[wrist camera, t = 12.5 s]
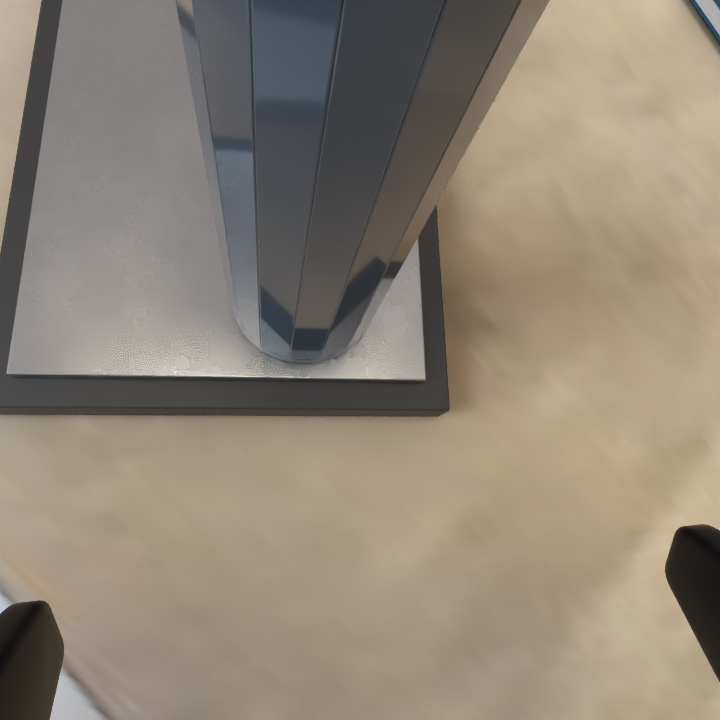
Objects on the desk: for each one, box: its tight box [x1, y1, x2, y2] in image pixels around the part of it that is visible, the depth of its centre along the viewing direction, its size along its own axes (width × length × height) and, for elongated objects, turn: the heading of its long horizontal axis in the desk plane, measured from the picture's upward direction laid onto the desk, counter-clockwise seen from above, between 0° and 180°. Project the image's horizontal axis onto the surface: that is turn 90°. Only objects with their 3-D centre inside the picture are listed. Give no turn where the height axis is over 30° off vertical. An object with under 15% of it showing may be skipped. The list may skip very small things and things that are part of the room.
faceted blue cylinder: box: [175, 0, 550, 363], centre depth 11 cm, size 5×5×18 cm
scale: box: [0, 0, 449, 416], centre depth 22 cm, size 22×16×2 cm
